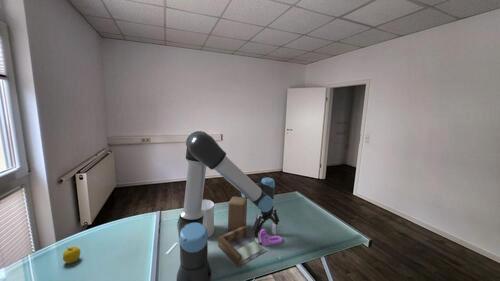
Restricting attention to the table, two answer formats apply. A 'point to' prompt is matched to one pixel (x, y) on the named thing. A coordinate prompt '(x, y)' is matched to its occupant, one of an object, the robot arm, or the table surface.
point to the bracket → (269, 238)
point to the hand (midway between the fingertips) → (265, 237)
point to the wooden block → (237, 213)
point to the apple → (71, 254)
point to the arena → (239, 246)
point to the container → (208, 216)
